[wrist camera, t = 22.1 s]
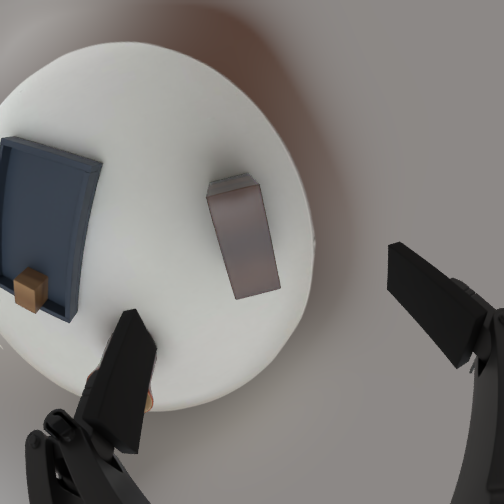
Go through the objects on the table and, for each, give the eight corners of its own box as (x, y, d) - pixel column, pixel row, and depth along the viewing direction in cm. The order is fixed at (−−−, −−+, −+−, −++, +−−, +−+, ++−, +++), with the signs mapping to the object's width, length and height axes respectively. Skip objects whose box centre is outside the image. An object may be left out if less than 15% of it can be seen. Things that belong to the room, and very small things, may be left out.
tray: (14, 136, 22) (1, 137, 19) (103, 163, 26) (92, 165, 23) (3, 274, 29) (-7, 283, 26) (77, 311, 33) (69, 323, 30)
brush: (209, 182, 29) (205, 196, 21) (248, 172, 29) (259, 183, 22) (231, 263, 33) (235, 300, 25) (266, 254, 33) (281, 288, 26)
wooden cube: (27, 266, 28) (13, 279, 25) (48, 276, 29) (34, 290, 26) (28, 288, 30) (15, 303, 26) (48, 299, 31) (35, 314, 27)
